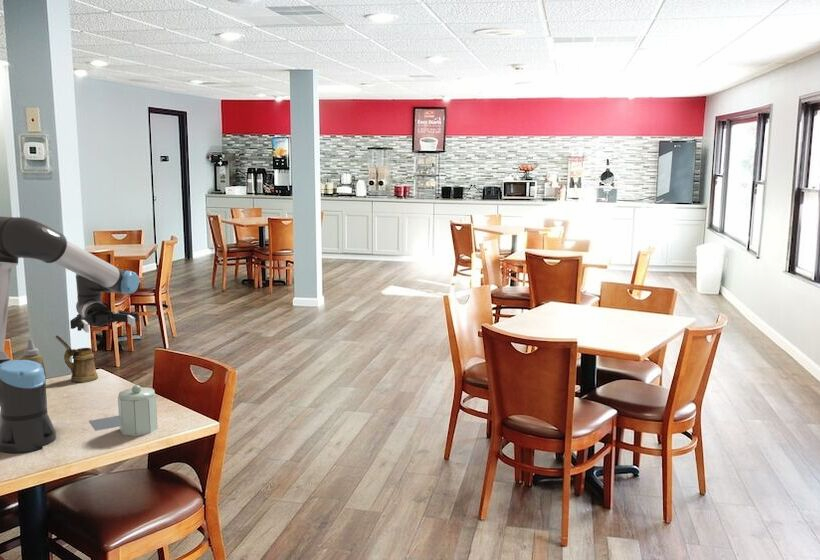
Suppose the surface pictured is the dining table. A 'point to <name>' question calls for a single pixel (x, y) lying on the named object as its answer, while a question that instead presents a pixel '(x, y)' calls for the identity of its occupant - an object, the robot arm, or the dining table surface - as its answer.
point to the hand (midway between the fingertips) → (111, 325)
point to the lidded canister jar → (137, 411)
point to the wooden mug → (80, 363)
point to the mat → (105, 423)
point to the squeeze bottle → (33, 354)
